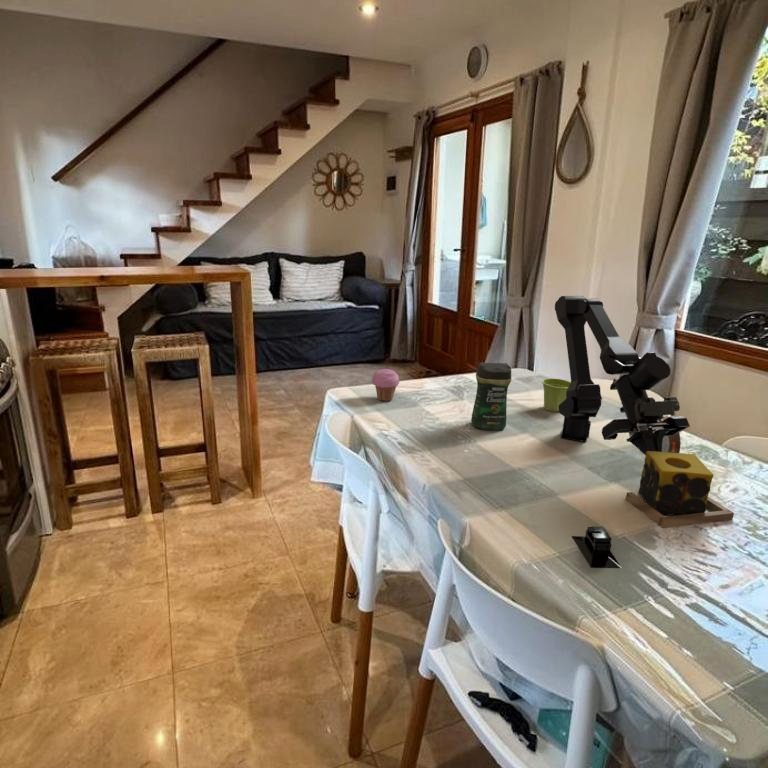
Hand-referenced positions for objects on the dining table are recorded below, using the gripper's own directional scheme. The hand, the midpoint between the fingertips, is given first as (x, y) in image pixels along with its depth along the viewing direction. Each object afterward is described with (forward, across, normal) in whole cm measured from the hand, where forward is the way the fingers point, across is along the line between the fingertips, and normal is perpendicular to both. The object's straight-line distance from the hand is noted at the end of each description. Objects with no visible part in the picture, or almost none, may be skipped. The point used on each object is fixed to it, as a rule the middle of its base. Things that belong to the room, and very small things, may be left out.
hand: (658, 464), depth 115 cm
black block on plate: (+18, -26, -7) cm, 32 cm away
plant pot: (-32, +6, +42) cm, 53 cm away
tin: (-8, +18, +18) cm, 27 cm away
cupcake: (-43, -45, +54) cm, 82 cm away
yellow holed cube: (+9, 0, +1) cm, 9 cm away
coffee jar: (-24, -20, +35) cm, 47 cm away
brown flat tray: (+10, 0, 0) cm, 10 cm away
